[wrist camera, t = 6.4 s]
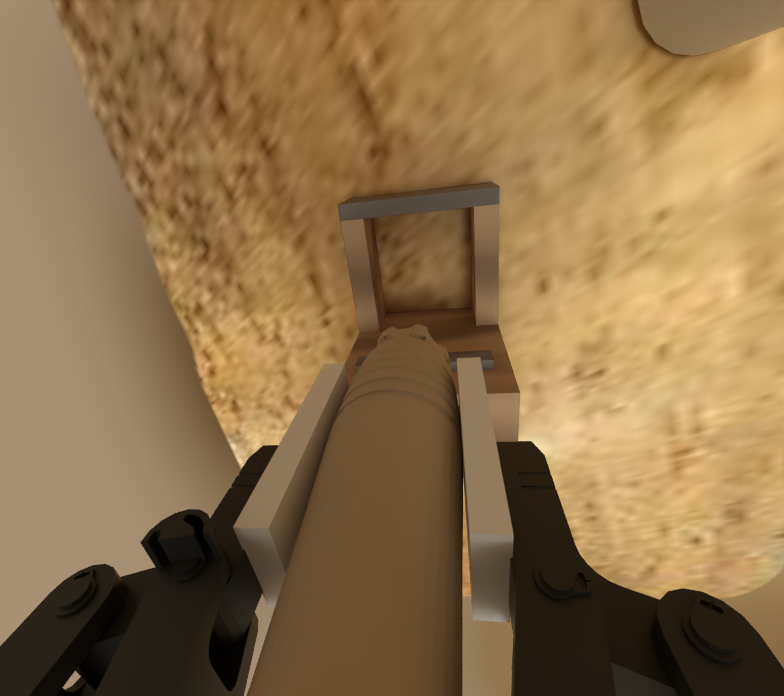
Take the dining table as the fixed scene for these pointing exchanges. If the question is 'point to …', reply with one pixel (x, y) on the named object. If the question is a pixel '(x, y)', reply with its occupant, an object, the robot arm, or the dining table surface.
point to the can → (708, 22)
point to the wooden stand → (446, 327)
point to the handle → (378, 540)
